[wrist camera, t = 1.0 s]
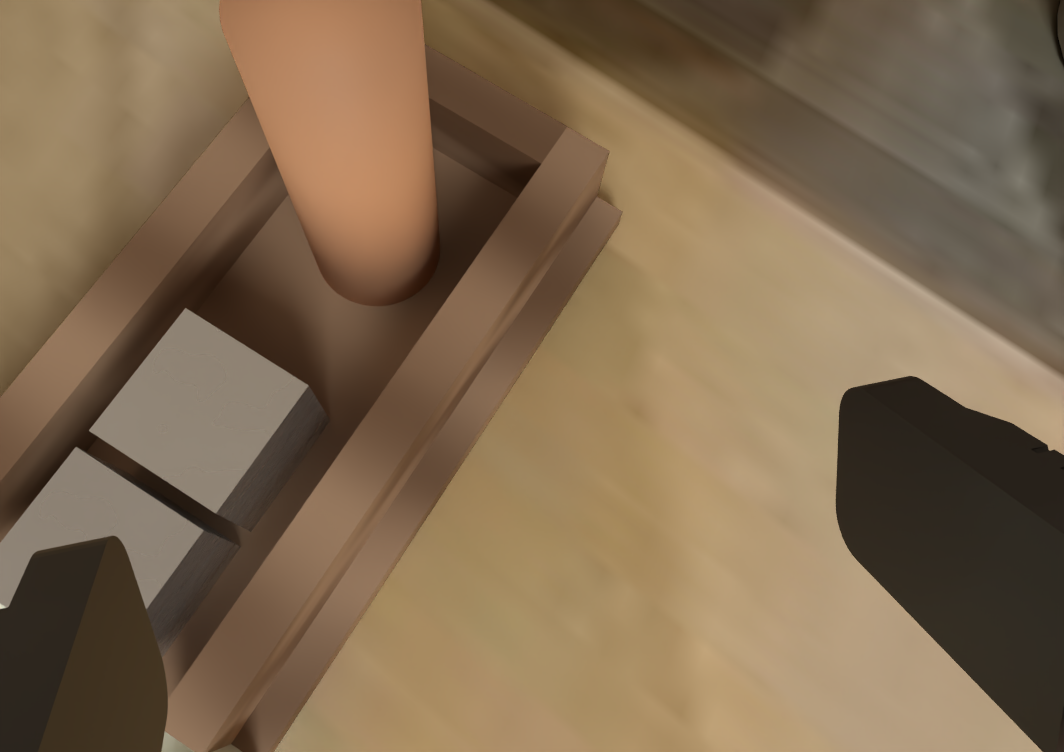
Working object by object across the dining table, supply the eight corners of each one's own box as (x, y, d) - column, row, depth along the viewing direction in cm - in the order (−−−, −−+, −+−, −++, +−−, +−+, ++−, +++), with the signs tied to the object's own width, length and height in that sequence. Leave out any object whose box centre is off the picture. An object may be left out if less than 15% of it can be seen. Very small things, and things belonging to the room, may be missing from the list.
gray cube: (130, 474, 28) (75, 446, 24) (240, 546, 28) (203, 530, 24) (41, 591, 27) (-31, 581, 23) (154, 668, 26) (100, 672, 23)
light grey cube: (223, 352, 29) (185, 307, 25) (330, 420, 29) (308, 385, 25) (141, 460, 28) (88, 430, 24) (251, 532, 28) (215, 513, 24)
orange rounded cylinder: (362, 170, 31) (297, -110, 20) (464, 231, 31) (459, -18, 19) (290, 264, 30) (177, 27, 19) (394, 329, 30) (345, 127, 18)
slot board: (327, 54, 33) (309, -23, 30) (618, 224, 32) (638, 167, 28) (-63, 535, 28) (-148, 517, 24) (268, 760, 27) (234, 778, 23)
